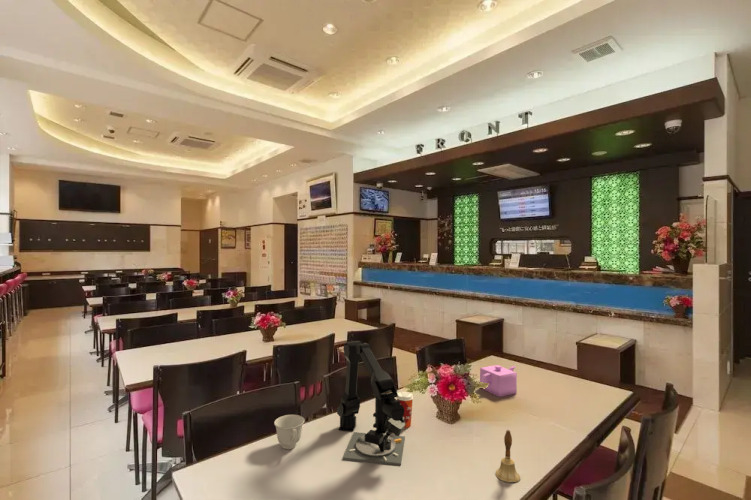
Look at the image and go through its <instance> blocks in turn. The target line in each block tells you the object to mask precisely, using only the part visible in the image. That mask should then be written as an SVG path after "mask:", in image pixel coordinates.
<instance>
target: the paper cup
mask: <svg viewBox="0 0 751 500" xmlns="http://www.w3.org/2000/svg"><path fill="white" fill-rule="evenodd" d="M397 394H398V397H396V400H399V401H400V404H401V405H402V406H403V407H404V415H403V417H404V418H405V425H406V426H405V427H404V429H407V428H410V427H411V426H412V415H413V414H412V413H413V400H414V396H413V393H412V392H409V391H400V392H397Z"/></svg>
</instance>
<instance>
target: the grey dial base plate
mask: <svg viewBox="0 0 751 500" xmlns="http://www.w3.org/2000/svg"><path fill="white" fill-rule="evenodd" d="M366 433H367V432H356V431H353V434H352V436H351V438H350V441H349V443H348V445H347V448H346V450H345V453H344V455H343V456H342V460H343V461H353V462H365V463H374V464H382V465H383V464H384V465H385V464H386V465H394V466H402V460H403V454H404V447H405V440H406V436H403V435H399V436H396V435H395V434H394V435H392V434H390V435H389V436H390V437H391V438H393V439H394V441H395V443H396V448H395V450H394V451H393V452H392V453H390V454H388V455H386V456H381V457H372V456H367V455H364V454H362V453H360V452H359V451H358V450H357V449H356V441H357V439H358V438H360V437H361V436H363V435H365V434H366Z"/></svg>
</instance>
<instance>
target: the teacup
mask: <svg viewBox="0 0 751 500" xmlns="http://www.w3.org/2000/svg"><path fill="white" fill-rule="evenodd" d="M273 423H274V424H273V425H274V426H275V429H276V430H275V431H276V438H277V442H278V444H280V445H281V448H282V449H284V450H292V449H294V448H296V447H297V443H299V441H300V440H301V437H302V430H303V425H304V423H305V418H304V417H303V416H302V415H298V414H285V415H282V416H279V417H278V418H276V419H275V420H274V422H273Z"/></svg>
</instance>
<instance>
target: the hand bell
mask: <svg viewBox="0 0 751 500" xmlns="http://www.w3.org/2000/svg"><path fill="white" fill-rule="evenodd" d="M503 440H504V441H503V442H504V447H505V452H504V453H505V457H503V458H501V460H500V465H499V468H498V469H496V470H495V476H496V478H498V479H499V480H500V481H502V482H504V481H506V482H505V483H509V482H515V483H518V482H519V481H521V476H520V474H519V473H518V471H517V470H516V466H515V460H513V459H512V458H511V447H512V444H513V438H512V433H511V430H509V429H507V430H506V431H505V434H504V438H503Z"/></svg>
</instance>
